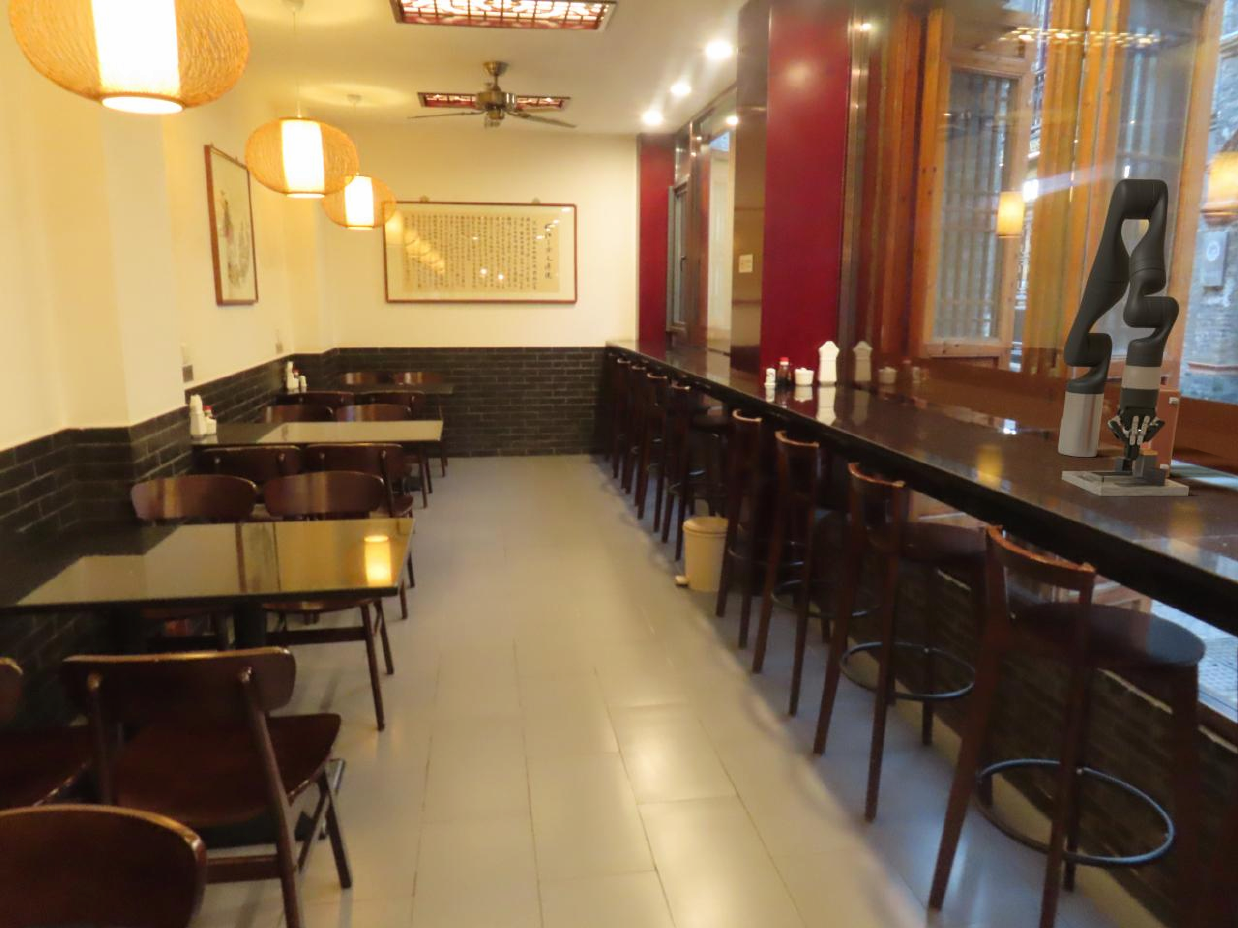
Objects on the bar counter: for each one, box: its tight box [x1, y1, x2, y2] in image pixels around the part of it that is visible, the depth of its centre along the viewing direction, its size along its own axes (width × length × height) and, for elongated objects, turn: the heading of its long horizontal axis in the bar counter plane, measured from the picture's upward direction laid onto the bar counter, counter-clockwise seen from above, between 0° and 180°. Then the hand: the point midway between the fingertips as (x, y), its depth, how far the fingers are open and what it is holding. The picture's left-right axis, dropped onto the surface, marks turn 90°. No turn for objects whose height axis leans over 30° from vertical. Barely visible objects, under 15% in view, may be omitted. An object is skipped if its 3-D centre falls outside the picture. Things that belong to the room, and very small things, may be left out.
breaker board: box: [1061, 456, 1190, 497], centre depth 197 cm, size 16×20×6 cm
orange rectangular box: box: [1132, 383, 1182, 478], centre depth 211 cm, size 21×7×15 cm
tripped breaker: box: [1132, 449, 1158, 476], centre depth 196 cm, size 4×3×6 cm
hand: (1130, 459), depth 196 cm, fingers closed
